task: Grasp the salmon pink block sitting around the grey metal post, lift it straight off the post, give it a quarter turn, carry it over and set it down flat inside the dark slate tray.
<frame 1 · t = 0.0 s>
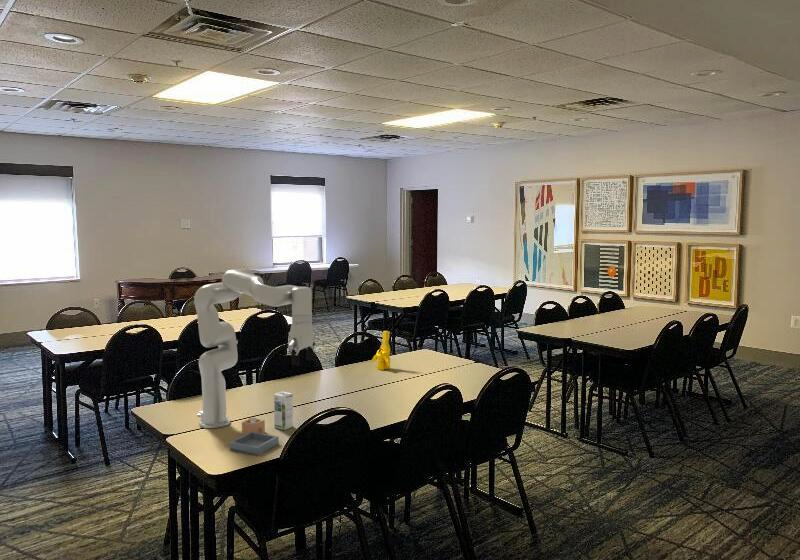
hand: (302, 362, 236), 31 cm above the table, fingers open, 9 cm apart
syrup box: (283, 427, 254), on the table
salmon pink block: (253, 433, 247), on the table
figure statuette: (383, 369, 353), on the table
stake: (253, 433, 247), on the table
tray: (254, 446, 232), on the table
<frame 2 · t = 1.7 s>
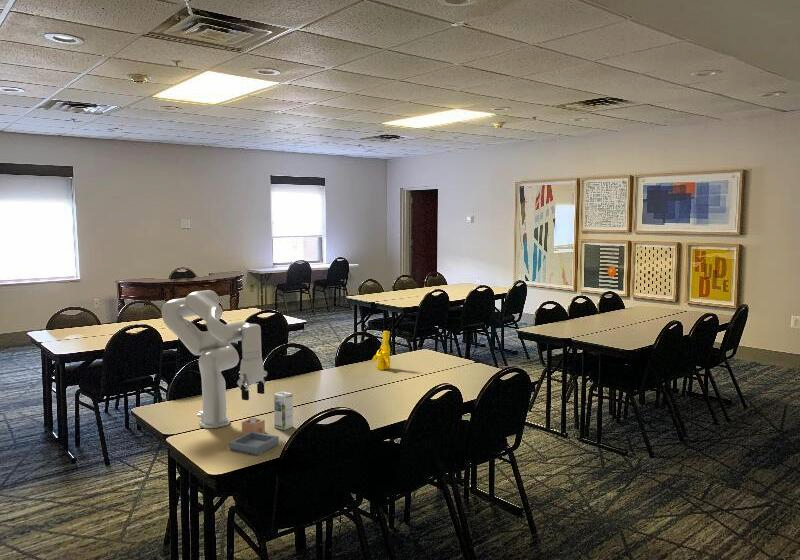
hand: (253, 396, 246), 15 cm above the table, fingers open, 9 cm apart
nothing on the table moved.
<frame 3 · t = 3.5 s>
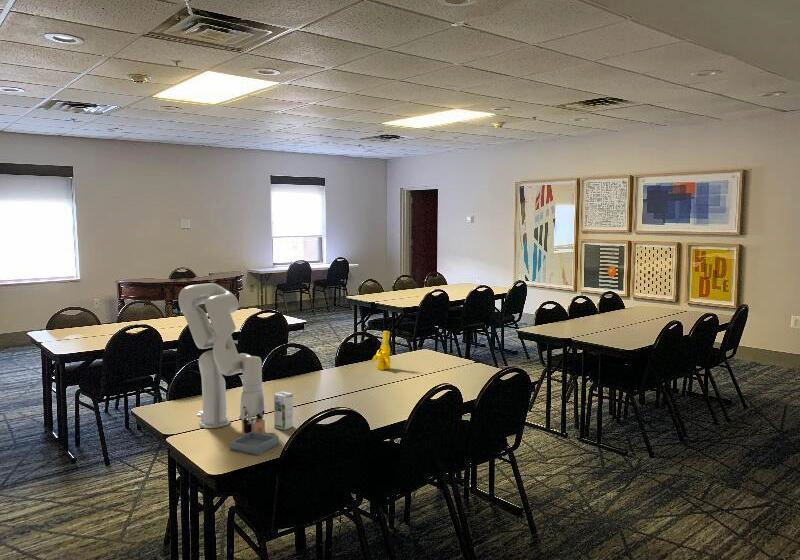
hand: (253, 429, 247), 1 cm above the table, fingers closed on salmon pink block, 6 cm apart
salmon pink block: (253, 433, 247), on the table, touching gripper
everything else where it was.
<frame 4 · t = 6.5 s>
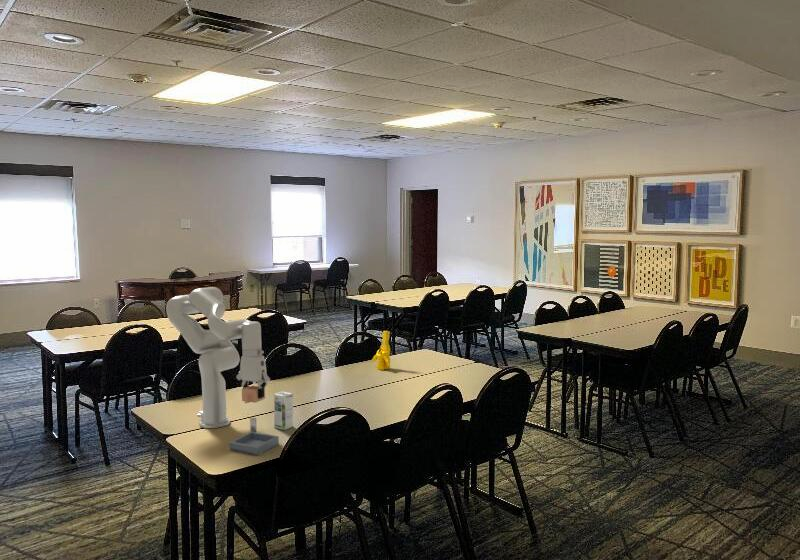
hand: (253, 396, 243), 16 cm above the table, fingers closed on salmon pink block, 6 cm apart
salmon pink block: (253, 399, 243), point 15 cm above the table, touching gripper
everything else where it was.
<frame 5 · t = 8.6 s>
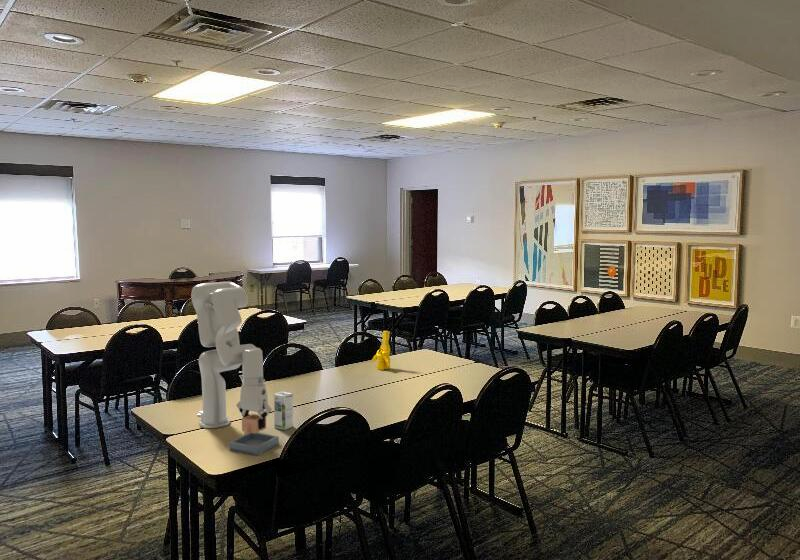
hand: (254, 426, 231), 8 cm above the table, fingers closed on salmon pink block, 6 cm apart
salmon pink block: (254, 429, 231), point 7 cm above the table, touching gripper
everything else where it was.
when the fingers open (3 cm above the table, at t = 10.0 s): salmon pink block stays where it is, resting on tray.
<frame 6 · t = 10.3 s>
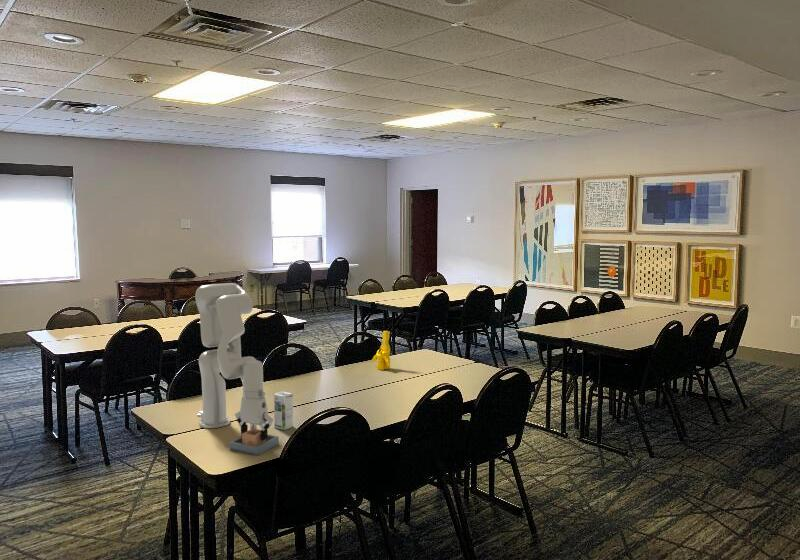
hand: (254, 437, 232), 4 cm above the table, fingers open, 9 cm apart
salmon pink block: (254, 444, 232), point 1 cm above the table, touching tray
everything else where it was.
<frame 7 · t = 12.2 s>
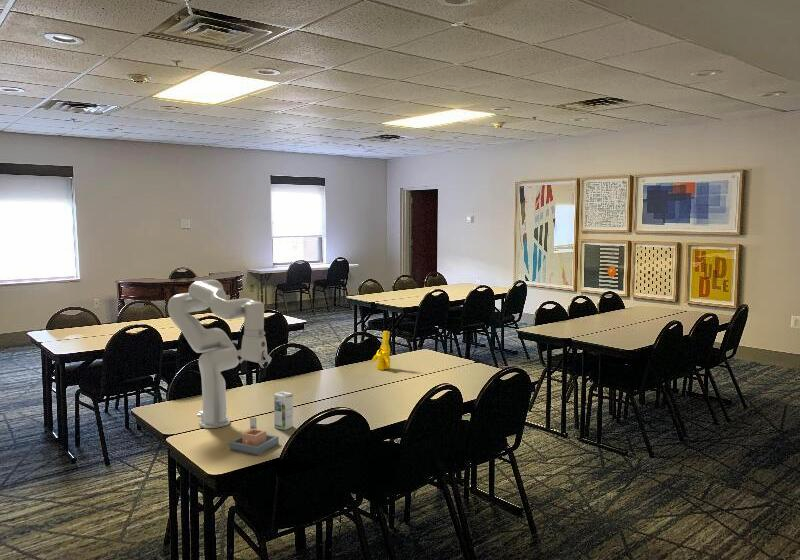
hand: (253, 374, 242), 25 cm above the table, fingers open, 9 cm apart
nothing on the table moved.
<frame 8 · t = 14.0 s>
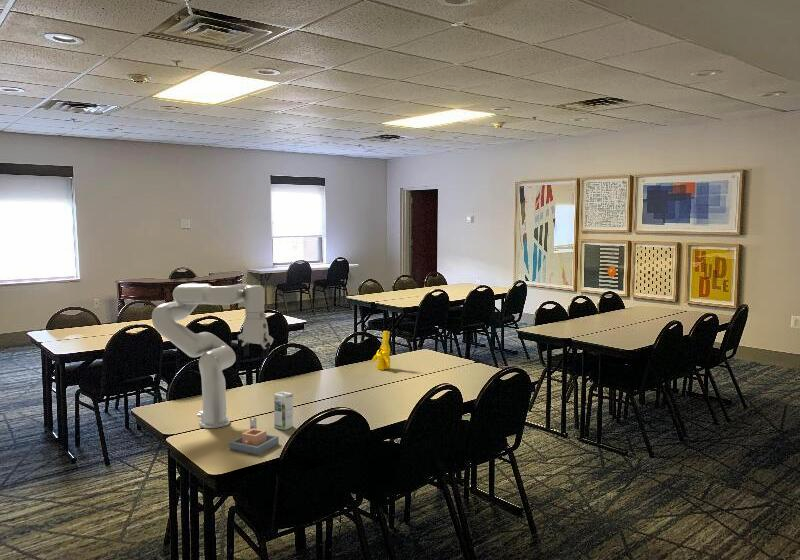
hand: (255, 356, 250), 30 cm above the table, fingers open, 9 cm apart
nothing on the table moved.
at the end: salmon pink block inside the target area on the tray (0.0 cm from its centre), point 0.8 cm above the tray's base; salmon pink block tilted 0°; the gripper is holding nothing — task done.
